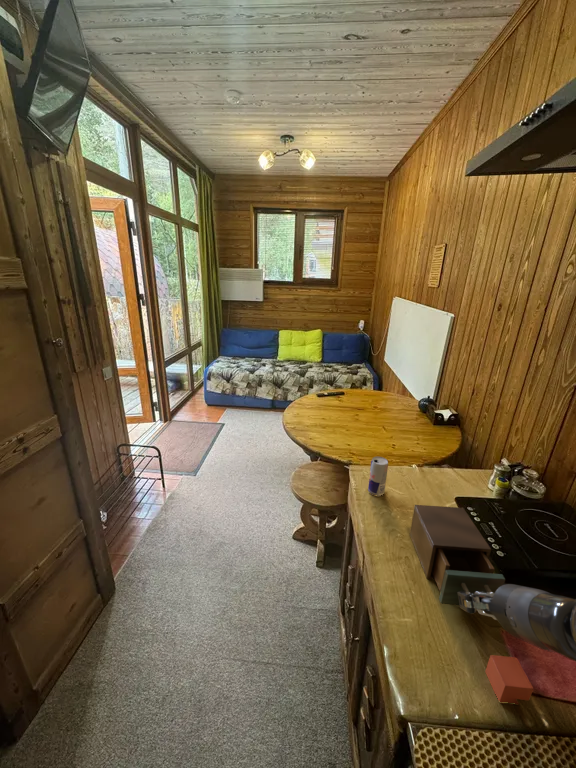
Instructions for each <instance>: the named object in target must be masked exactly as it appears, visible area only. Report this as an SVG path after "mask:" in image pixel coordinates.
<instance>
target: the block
mask: <svg viewBox="0 0 576 768" xmlns="http://www.w3.org/2000/svg"><path fill="white" fill-rule="evenodd" d="M484 672H485V674H486V677H487V678H488V681H489V683H490V686H491V688H492V689H493V693H494V695H495V694H496V695H495V697H496V696H497V697H496V699H497V698H498V699H497V701H498V700H499V701H500V702H508V703H515V704H519V700H521V701H522V700H523V701H530V699H531V696H532V694H533V692H534V687H533V685H532V683H531V682H530V680H529V678H528V676H527V674H526V672H525V670H524V669H523V667H522V664H521V663H520V661H519V659H518V658H517V657H515V656H513V657H512V656H503V655H495V654H494V655H492V654H490V655H489V659H488V661H487V665H486V668H485V671H484ZM499 701H498V702H499ZM519 705H520V704H519Z"/></svg>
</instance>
